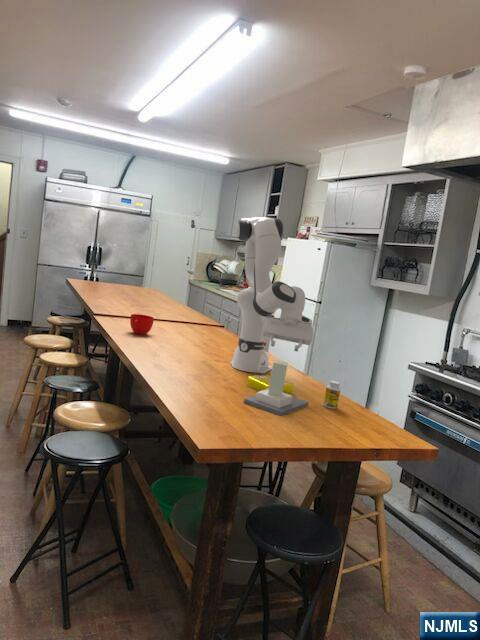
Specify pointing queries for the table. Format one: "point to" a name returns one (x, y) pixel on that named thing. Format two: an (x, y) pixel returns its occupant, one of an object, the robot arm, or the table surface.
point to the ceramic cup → (141, 323)
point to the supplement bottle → (332, 395)
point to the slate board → (277, 410)
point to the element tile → (267, 384)
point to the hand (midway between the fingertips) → (284, 347)
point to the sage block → (277, 378)
